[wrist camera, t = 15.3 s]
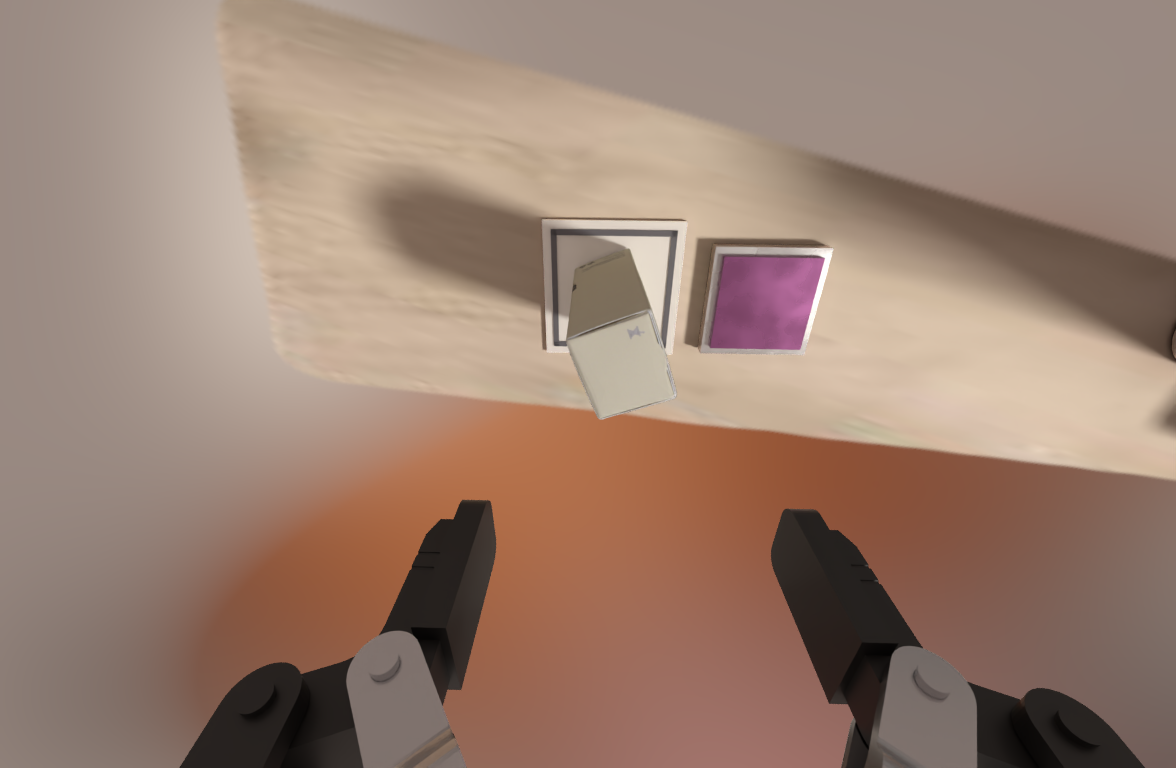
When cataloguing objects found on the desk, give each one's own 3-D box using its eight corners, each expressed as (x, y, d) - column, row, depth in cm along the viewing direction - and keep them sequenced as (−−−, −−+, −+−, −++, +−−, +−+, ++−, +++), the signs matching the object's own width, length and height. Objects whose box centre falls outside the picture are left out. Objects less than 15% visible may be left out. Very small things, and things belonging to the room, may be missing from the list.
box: (572, 267, 31) (558, 333, 20) (631, 245, 30) (651, 302, 19) (597, 331, 33) (596, 424, 22) (651, 313, 32) (680, 400, 21)
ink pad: (826, 245, 30) (836, 249, 29) (798, 349, 34) (806, 357, 33) (712, 243, 30) (717, 247, 29) (697, 347, 34) (701, 355, 33)
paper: (686, 220, 29) (687, 221, 29) (671, 353, 34) (672, 355, 34) (542, 218, 30) (541, 219, 29) (547, 350, 34) (546, 353, 34)
